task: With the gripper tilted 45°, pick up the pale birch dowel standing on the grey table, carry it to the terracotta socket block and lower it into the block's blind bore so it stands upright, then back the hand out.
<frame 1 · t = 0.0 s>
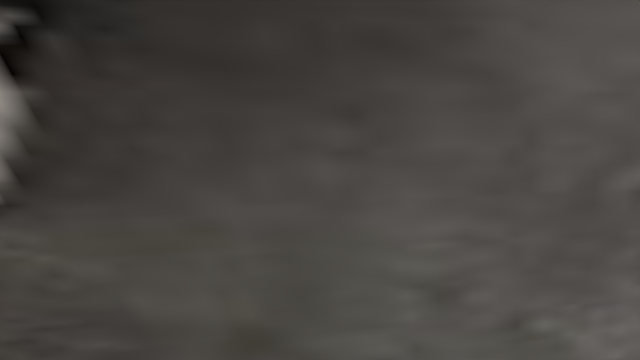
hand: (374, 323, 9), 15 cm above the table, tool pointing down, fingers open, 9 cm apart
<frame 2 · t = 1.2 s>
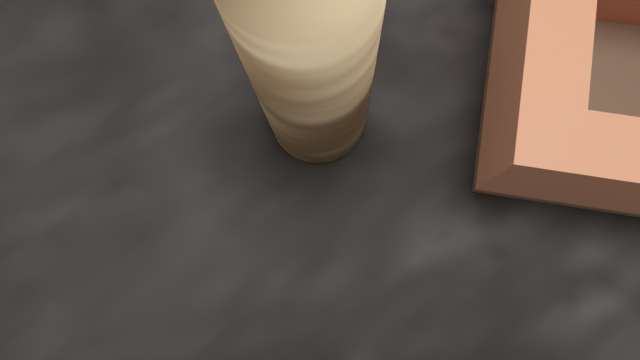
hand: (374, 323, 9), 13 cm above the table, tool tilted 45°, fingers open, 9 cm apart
socket block: (605, 93, 23), on the table
birch dowel: (318, 117, 23), on the table
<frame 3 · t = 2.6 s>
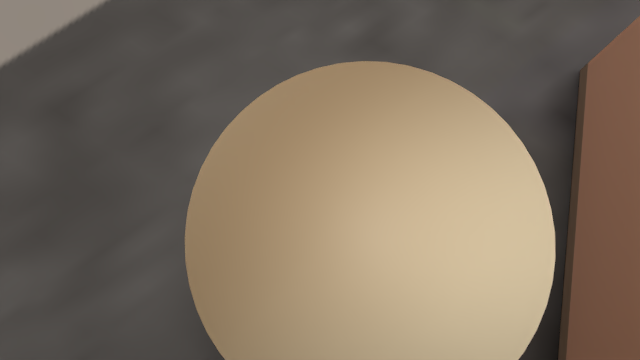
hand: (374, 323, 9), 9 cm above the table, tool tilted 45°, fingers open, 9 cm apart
birch dowel: (349, 270, 18), on the table
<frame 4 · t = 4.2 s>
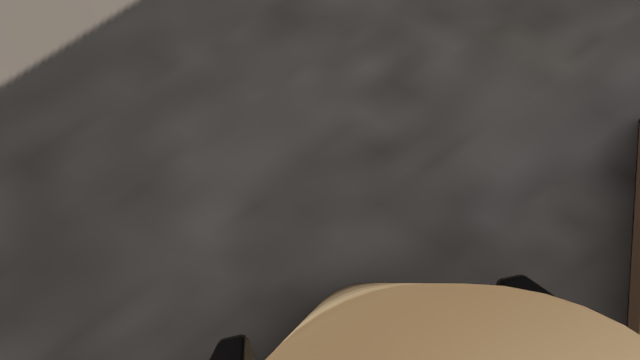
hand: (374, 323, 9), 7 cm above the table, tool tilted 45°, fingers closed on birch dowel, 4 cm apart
birch dowel: (371, 357, 15), on the table, touching gripper
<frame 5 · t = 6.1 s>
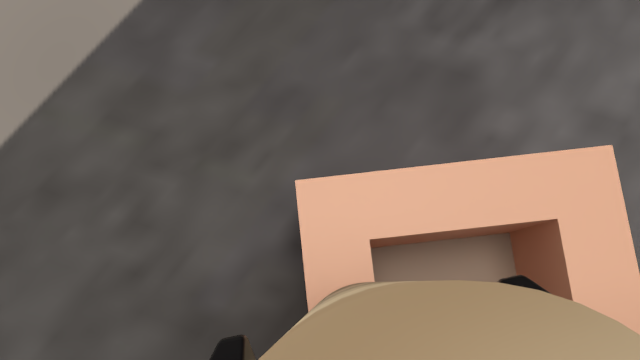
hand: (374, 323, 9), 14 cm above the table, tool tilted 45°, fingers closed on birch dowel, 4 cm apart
socket block: (444, 315, 22), on the table
birch dowel: (369, 356, 15), point 7 cm above the table, touching gripper
when the fingers open (8 cm above the table, at t = 8.3 s): birch dowel stays where it is, resting on socket block.
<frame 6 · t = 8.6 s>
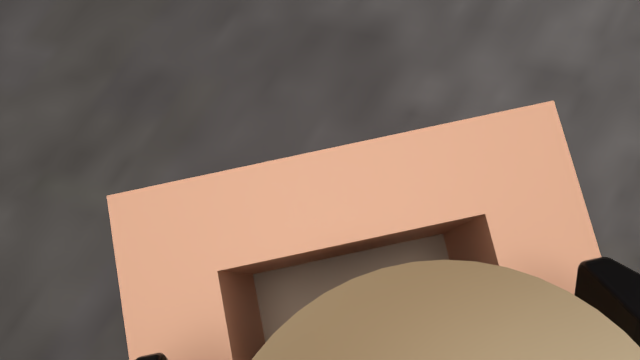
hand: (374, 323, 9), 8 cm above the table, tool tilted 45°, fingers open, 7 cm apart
socket block: (368, 350, 17), on the table
birch dowel: (368, 353, 16), point 1 cm above the table, touching socket block
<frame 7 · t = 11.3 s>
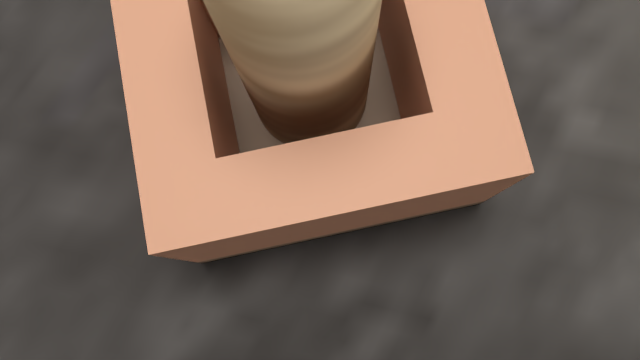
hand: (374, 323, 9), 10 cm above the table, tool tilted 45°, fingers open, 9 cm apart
socket block: (312, 100, 20), on the table
birch dowel: (310, 95, 20), point 1 cm above the table, touching socket block
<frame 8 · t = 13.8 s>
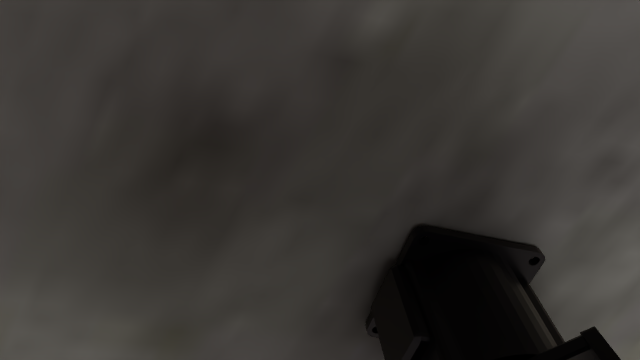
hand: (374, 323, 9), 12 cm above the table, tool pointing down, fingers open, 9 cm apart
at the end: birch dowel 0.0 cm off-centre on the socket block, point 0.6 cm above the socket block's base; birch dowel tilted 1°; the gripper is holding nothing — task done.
